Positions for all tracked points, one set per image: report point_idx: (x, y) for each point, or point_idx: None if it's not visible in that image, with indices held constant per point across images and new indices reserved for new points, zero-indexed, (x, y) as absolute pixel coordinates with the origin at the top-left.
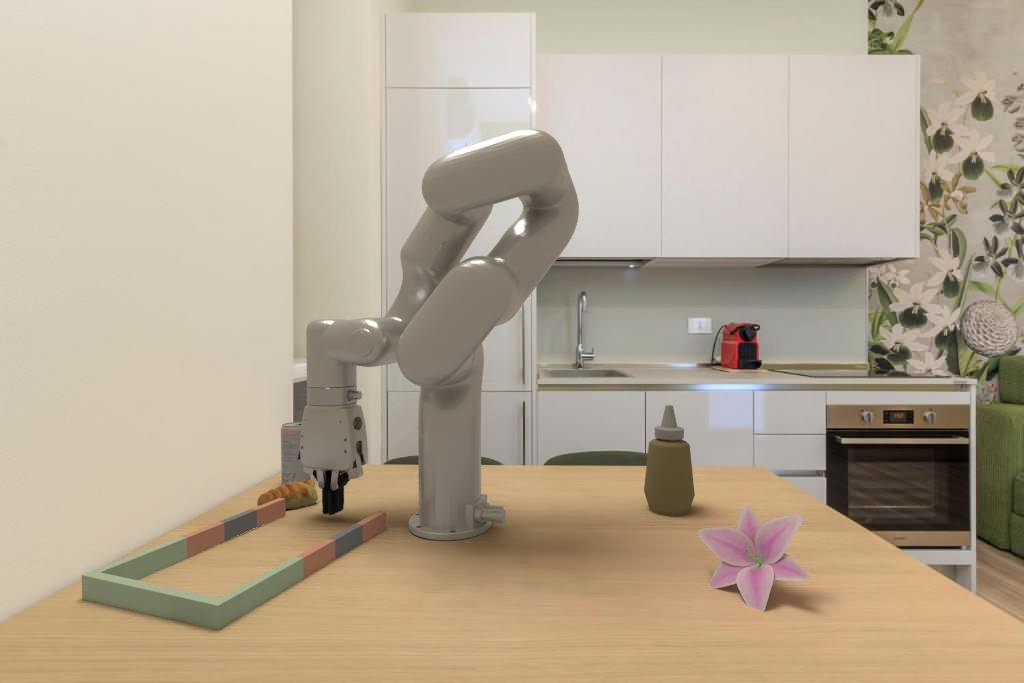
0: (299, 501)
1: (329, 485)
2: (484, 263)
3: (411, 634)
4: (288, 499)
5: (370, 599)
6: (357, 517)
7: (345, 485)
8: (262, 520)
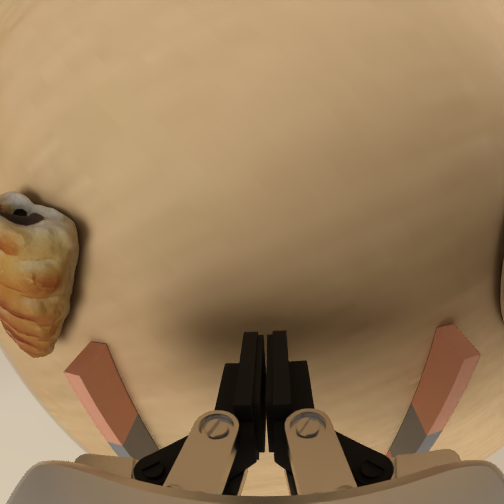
0: (65, 293)
1: (256, 454)
2: None
3: (490, 446)
4: (55, 326)
5: (461, 449)
6: (318, 271)
7: (317, 413)
8: (126, 413)
